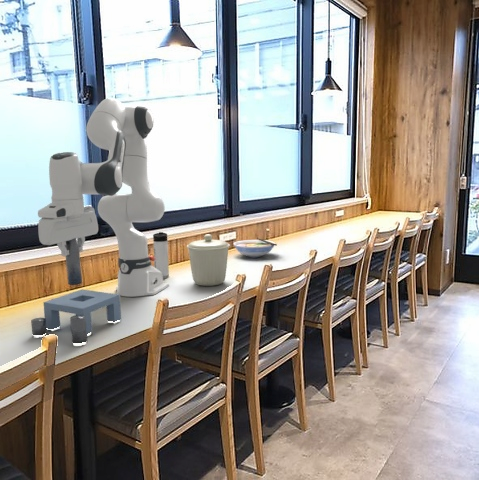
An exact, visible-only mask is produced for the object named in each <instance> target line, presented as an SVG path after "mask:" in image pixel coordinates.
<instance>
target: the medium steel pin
mask: <svg viewBox="0 0 479 480" xmlns="http://www.w3.org/2000/svg"><path fill="white" fill-rule="evenodd" d="M70 329H71V330H70V331H71V343H72V342H73V343H82V342H86V341H87V342H88V337H87V332H86V318H85V315H76V314H74V315H72V316H70Z"/></svg>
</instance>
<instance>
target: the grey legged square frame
mask: <svg viewBox="0 0 479 480" xmlns="http://www.w3.org/2000/svg"><path fill="white" fill-rule="evenodd" d="M120 296H121V295H118V294H117V293H111V292H104V291H103V292H102V291H95V290H88V289H79V290H76V291H73V292H70V293H67V294H64V295H61V296H58V297H55V298H53V299H49V300H47V301H43V312H44V313H43V314H44V318H46V328H48V329H54V328H57V327H59V326H60V327H61V318H60V316H61V315H60V312H62V313H67V314H73V315H85V318H86V332H87V334H88V333H90V332H92V333H93V328H92V327H93V326H92V313H93V312H95V311H98V310H100V309H102V308H105V307H106V318H107V320H108V321H113V322H115V321H117V320H120V319H121V320H122V315H121V313H122V311H121V297H120Z"/></svg>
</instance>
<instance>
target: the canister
mask: <svg viewBox="0 0 479 480" xmlns="http://www.w3.org/2000/svg"><path fill="white" fill-rule="evenodd" d="M230 246H231V244H230V243H228V242H227V241H224V240H220V239H213V235H212V234H209V233H208V234H207V233H206V234H205V235H204V236H203V239H198V240H194V241H191V242H190V243H189V244H187V245H186V248H187V249H188V256H189V263H190V270H191V276H192V280H193V283H195V284H196V285H199V286H203V287H213V286H219V285H221V284H223V283H224V282H225V280H226V277H227V268H228V266H227V265H228V258H229V255H228V254H229V247H230Z"/></svg>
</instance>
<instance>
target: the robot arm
mask: <svg viewBox="0 0 479 480" xmlns="http://www.w3.org/2000/svg"><path fill="white" fill-rule="evenodd" d="M153 127H154V116H153V113H152V111H151V109H150V108H149V107H148V106H146V105H142V104H137V105H131V104H127V105H126V104H125V105H124V104H123V103H122V102H121V101H120V100H118V99H116V98H113V97H109V98H105V99H103V100H102V101H100V103H99V104H98V105H97V106H96V107H95V108H94V110H93V111H92V113H91V115H90V117H89V119H88V121H87V124H86V128H85V129H86V135H87V137H88V139H89V141H90V142H91V143H92V144H93V145H95V147H97V148H98V149H102V150H105V151H109V152H108V155H107V160H106V161H103V162H93V163H92V162H91V163H90V162H89V163H87V162H82V161H80V160H79V157H78V154H77V153H76V152H72V151H67V152H66V151H65V152H57V153H55V154H53V155H51V156H50V158H49V167H48V169H49V170H48V171H49V172H48V175H49V176H48V177H49V185H50V188H51V202H50V203H49V204H47V205H46V206H44V207H42V208H40V209H39V210H38V211H37V216H38V218H40V219H39V220H38V226H37V227H38V229H37V230H38V231H37V232H38V238H39V239H38V240H39V243H41V244H42V245H44V246H52V245H56V246H57V247H58V249H59V250H60V253H61V257H66V256H68V255H70V253H69V250H67V249H66V247H65V245H66V241H69V240H72V239H75V238H78V242H79V253H82V252H83V251H84V249H83V246H84V244H85V241H86V237H90V236H92V235H97V234H98V232H99V224H98V218H97V215H96V211H95V208H94V207H93V206H92V205H89V204H87V205H85V204H84V203H85V202H84V195H94V196H95V195H99V196H102V197H101V198H100V200H99V201H98V203H97V213H98V215H99V217H100V218H101V219H102V220H103V221H104V222H106V223H107V224H108V225H109V226H110V227H111V229H112V231H113V232H114V234H115V237H116V240H117V245H118V259H117V260H118V261H117V263H118V265H117V266H118V268H119V270H117V286H116V288H115V291H116V290H117V291H116V294H118V295H120V296H121V297H129V298H130V297H143V296H154V295H157V294H159V293H160V292H161V291H163V290H164V289H166V288H167V287H169V286H170V284H169V282H166V281H164V279H163V277H162V273H161V272H160V271H159V270H158V269H156V268H155V267H154V265H152V262H154V260H155V257H154V255H149V252H148V250H149V249H148V238H147V236H146V235H145V234H144V233H143V232H141V231H139V230H138V229H136V228H135V227H134V224H133V223H151V222H156V221H159V220H161V218H162V217H164V216H163V215H164V214H165V204H164V203H165V202H164V200H163V199H162V198H161V196H159V194H157V193H156V192H155V191H154V190H153V187H151V185H150V182H149V179H148V148H147V140H146V138H147V137H148V135H149V134H150V133H151V131H152V130H153ZM123 184H125V185H127V186H128V187H130V188H131V193H118V192H119V191H120V190H121V188H122V187H123ZM151 261H152V262H151Z"/></svg>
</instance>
